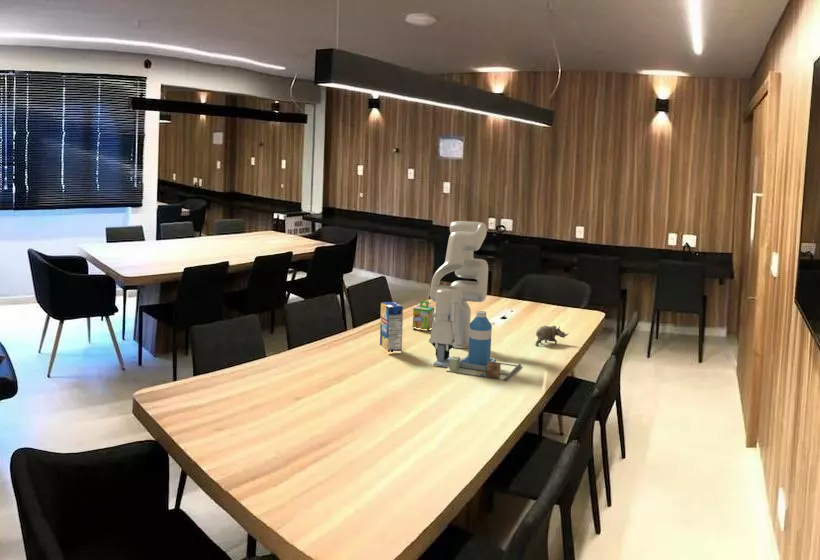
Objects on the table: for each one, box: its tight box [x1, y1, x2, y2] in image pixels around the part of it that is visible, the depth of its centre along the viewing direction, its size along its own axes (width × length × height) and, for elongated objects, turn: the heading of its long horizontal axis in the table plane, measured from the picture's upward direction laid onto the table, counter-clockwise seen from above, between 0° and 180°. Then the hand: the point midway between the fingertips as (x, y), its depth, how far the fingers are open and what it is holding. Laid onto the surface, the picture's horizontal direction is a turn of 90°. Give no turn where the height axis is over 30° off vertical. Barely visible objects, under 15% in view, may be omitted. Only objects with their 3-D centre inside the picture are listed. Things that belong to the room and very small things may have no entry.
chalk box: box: [412, 300, 435, 330], centre depth 357 cm, size 9×9×15 cm
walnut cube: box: [486, 361, 502, 378], centre depth 277 cm, size 5×5×5 cm
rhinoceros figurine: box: [534, 325, 569, 347], centre depth 335 cm, size 8×14×15 cm
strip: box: [448, 356, 477, 375], centre depth 282 cm, size 10×6×6 cm, turn 67°
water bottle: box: [467, 310, 493, 366], centre depth 288 cm, size 9×9×25 cm
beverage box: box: [379, 301, 404, 352], centre depth 313 cm, size 7×11×22 cm, turn 21°
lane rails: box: [445, 357, 522, 382], centre depth 286 cm, size 26×23×2 cm
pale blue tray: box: [432, 344, 497, 371], centre depth 293 cm, size 24×13×8 cm, turn 67°
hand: (442, 357), depth 297 cm, fingers closed on pale blue tray, 3 cm apart
